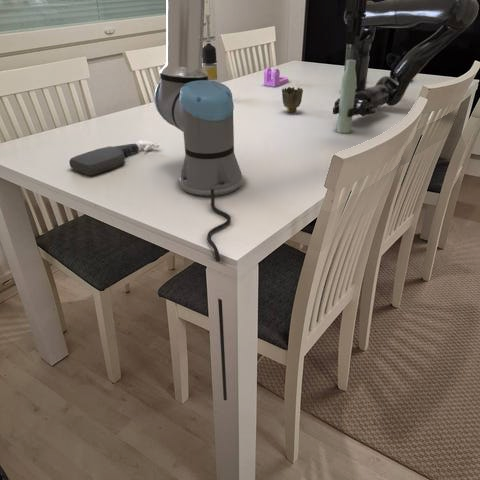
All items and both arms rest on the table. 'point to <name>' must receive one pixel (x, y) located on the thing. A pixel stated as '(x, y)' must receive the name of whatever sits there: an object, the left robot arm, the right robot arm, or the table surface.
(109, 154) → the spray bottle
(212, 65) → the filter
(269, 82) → the bracket
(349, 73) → the bottle
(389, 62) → the squiggle
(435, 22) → the right robot arm
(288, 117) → the table surface
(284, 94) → the cup
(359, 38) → the cap
